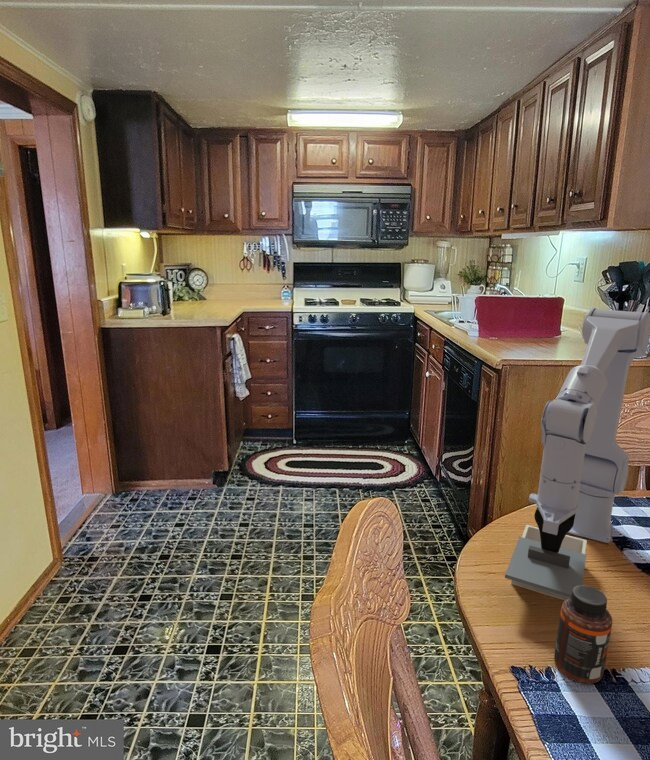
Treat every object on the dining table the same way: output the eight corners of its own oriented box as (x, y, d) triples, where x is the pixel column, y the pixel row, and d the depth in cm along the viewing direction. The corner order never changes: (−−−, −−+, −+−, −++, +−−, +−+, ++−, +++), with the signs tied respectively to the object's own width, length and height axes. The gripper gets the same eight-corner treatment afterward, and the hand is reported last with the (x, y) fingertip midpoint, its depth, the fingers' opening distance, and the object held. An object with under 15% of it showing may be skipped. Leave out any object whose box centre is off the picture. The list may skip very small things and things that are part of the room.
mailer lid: (519, 539, 88) (520, 528, 88) (585, 557, 83) (587, 546, 83) (504, 577, 78) (506, 565, 77) (580, 601, 73) (582, 588, 72)
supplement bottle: (609, 690, 64) (623, 613, 61) (559, 682, 65) (570, 606, 63) (594, 655, 70) (607, 583, 67) (548, 647, 71) (559, 577, 68)
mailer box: (523, 548, 95) (526, 524, 94) (582, 565, 90) (586, 540, 89) (511, 583, 85) (514, 557, 83) (577, 604, 80) (581, 576, 79)
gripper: (539, 455, 87) (530, 526, 90) (525, 487, 75) (515, 568, 78) (585, 463, 84) (574, 537, 87) (578, 499, 71) (565, 583, 75)
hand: (549, 553), depth 82 cm, fingers closed
